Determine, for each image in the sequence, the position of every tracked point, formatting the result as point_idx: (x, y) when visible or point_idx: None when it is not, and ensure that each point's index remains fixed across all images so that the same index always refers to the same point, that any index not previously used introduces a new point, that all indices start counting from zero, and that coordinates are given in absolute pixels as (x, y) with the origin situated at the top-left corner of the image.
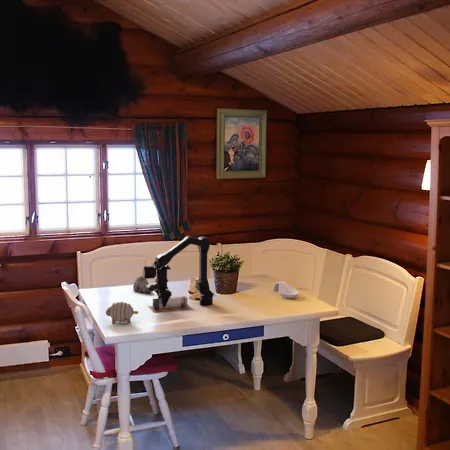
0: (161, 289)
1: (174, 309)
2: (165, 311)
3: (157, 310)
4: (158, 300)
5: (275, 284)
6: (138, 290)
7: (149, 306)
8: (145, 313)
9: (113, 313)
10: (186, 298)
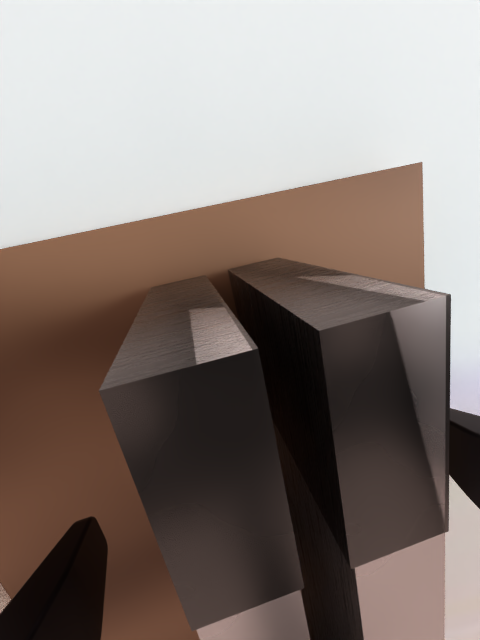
0: None
1: (153, 613)
2: (8, 512)
3: (80, 360)
4: (183, 566)
5: None
6: None
7: (409, 186)
8: (17, 72)
9: None
10: None
